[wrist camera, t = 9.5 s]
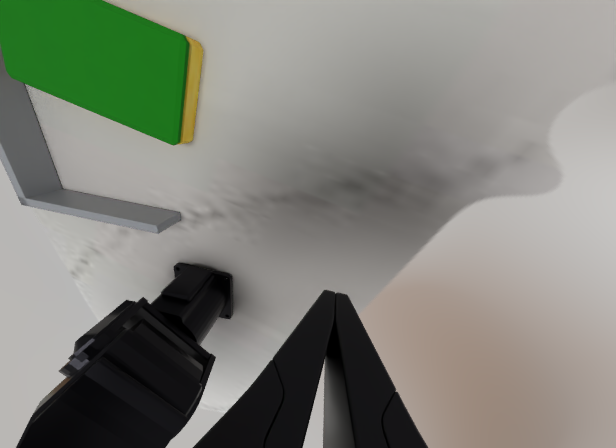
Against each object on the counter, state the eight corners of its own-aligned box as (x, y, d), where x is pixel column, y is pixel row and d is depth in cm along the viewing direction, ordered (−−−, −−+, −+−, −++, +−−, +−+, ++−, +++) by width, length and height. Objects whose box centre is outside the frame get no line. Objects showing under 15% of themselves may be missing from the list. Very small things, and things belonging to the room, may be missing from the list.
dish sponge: (195, 143, 20) (176, 147, 17) (43, 80, 19) (5, 75, 17) (207, 46, 16) (185, 35, 14) (25, -31, 16) (-25, -54, 14)
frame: (180, 219, 23) (158, 233, 20) (58, 194, 24) (21, 204, 21) (132, -154, 12) (72, -227, 10) (-78, -165, 14) (-182, -232, 11)
